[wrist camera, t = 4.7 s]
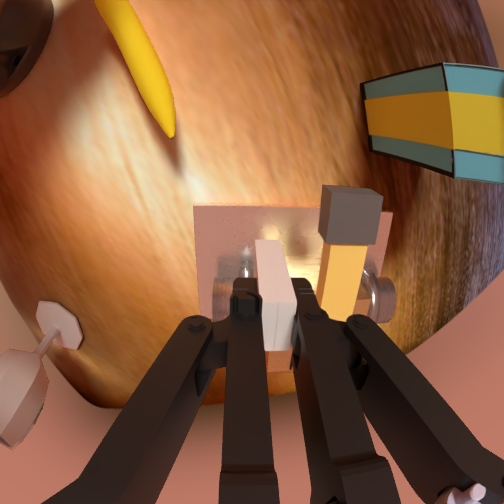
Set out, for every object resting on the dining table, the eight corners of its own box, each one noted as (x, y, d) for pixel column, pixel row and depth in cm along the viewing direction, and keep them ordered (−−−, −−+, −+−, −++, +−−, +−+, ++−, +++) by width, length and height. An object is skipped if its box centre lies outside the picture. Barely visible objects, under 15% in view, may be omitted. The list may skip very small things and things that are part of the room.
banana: (171, 143, 25) (150, 149, 19) (103, 4, 17) (75, -16, 11) (198, 129, 24) (184, 130, 18) (127, -11, 17) (102, -35, 11)
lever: (338, 363, 23) (344, 379, 21) (290, 366, 23) (292, 383, 21) (378, 189, 17) (392, 197, 15) (313, 184, 17) (321, 191, 15)
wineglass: (85, 353, 36) (33, 465, 17) (40, 332, 34) (-21, 429, 15) (84, 312, 33) (10, 438, 13) (35, 289, 31) (-48, 392, 12)
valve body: (201, 312, 32) (189, 375, 24) (195, 202, 27) (171, 241, 18) (366, 311, 33) (395, 365, 24) (388, 209, 28) (439, 247, 19)
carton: (430, 150, 25) (566, 198, 8) (369, 154, 25) (509, 209, 9) (423, 84, 22) (563, 83, 5) (359, 81, 22) (500, 51, 6)
